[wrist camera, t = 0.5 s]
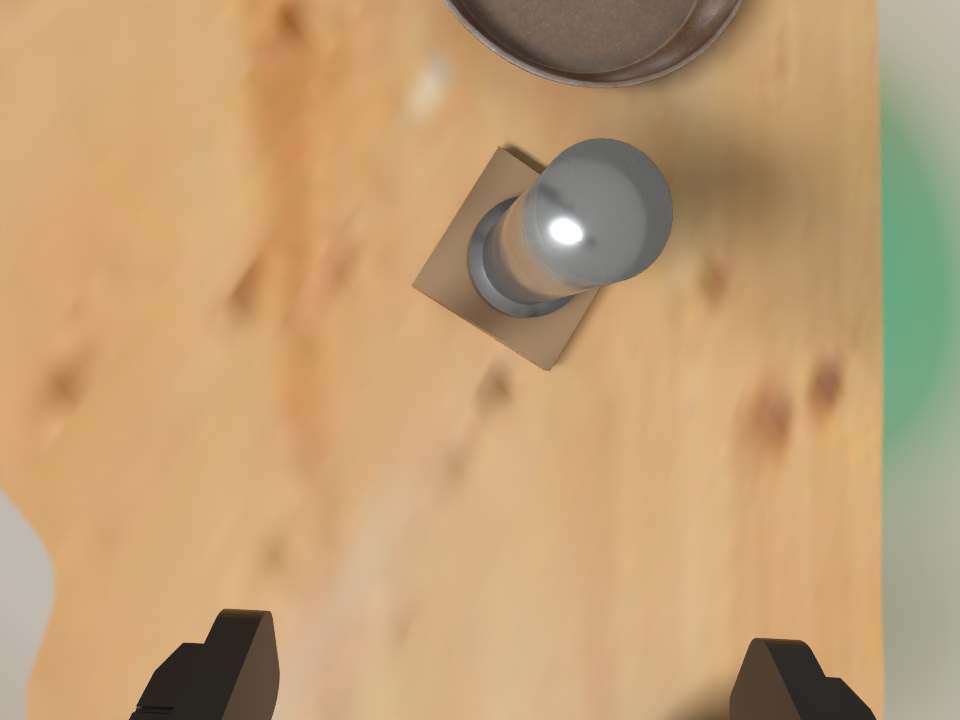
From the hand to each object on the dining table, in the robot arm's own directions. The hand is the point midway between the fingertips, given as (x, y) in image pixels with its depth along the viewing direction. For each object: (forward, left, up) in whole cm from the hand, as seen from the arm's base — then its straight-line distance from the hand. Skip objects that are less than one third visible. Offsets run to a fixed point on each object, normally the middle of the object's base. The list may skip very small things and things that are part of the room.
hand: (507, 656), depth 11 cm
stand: (-4, +10, -21) cm, 24 cm away
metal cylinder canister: (-4, +10, -20) cm, 23 cm away
